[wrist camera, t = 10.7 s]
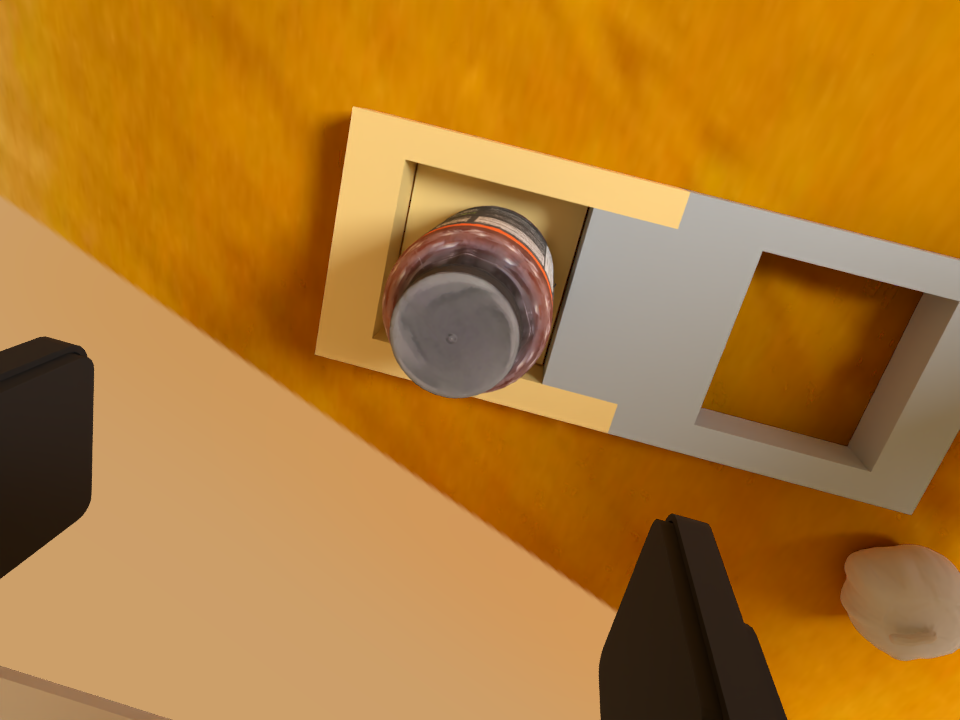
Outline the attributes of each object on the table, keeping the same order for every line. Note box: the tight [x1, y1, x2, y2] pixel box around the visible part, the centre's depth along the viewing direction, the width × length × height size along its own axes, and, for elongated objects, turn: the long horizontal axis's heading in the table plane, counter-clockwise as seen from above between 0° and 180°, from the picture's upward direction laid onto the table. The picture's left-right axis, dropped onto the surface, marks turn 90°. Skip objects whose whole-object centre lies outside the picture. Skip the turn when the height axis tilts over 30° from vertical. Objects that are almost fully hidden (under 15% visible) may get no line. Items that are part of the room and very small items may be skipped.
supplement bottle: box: [382, 206, 556, 398], centre depth 24 cm, size 6×6×11 cm
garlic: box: [840, 544, 960, 661], centre depth 30 cm, size 6×5×5 cm
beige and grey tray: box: [315, 107, 960, 515], centre depth 28 cm, size 28×11×2 cm, turn 77°
